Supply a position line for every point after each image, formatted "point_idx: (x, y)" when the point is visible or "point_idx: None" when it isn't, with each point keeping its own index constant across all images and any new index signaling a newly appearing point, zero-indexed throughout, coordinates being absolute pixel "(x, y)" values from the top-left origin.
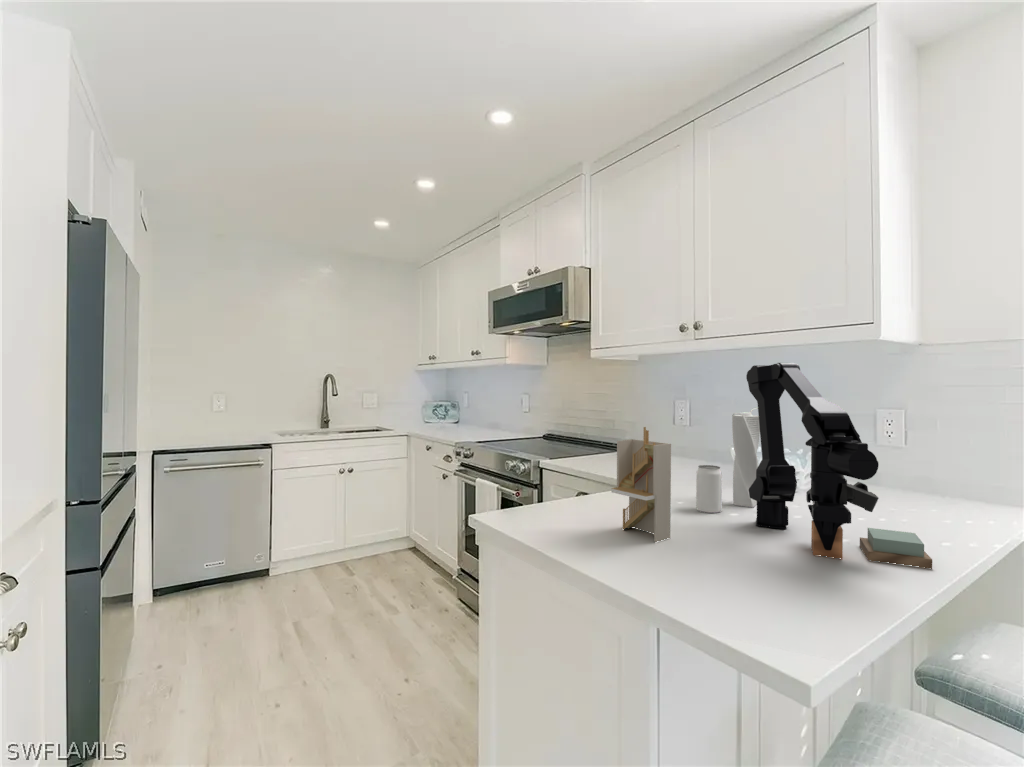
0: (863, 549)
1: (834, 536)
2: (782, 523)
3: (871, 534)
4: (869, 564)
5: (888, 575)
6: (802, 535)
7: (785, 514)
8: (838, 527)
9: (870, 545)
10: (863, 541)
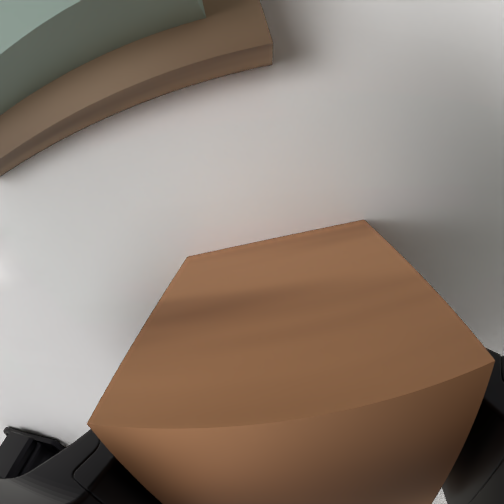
0: (73, 128)
1: (497, 358)
2: (43, 454)
3: (24, 35)
4: (360, 58)
5: (479, 4)
6: (59, 404)
7: (20, 470)
8: (391, 427)
9: (69, 73)
10: (8, 144)
